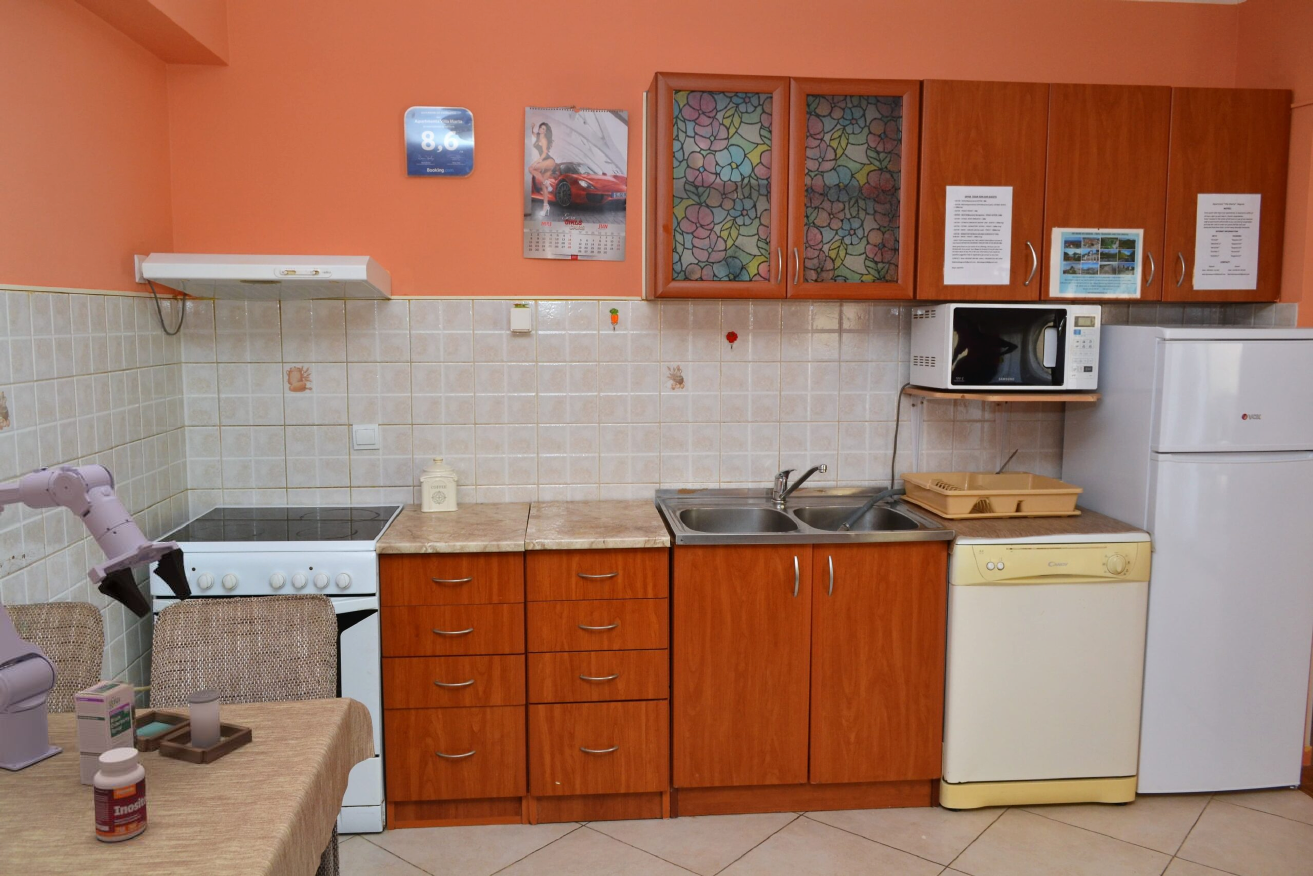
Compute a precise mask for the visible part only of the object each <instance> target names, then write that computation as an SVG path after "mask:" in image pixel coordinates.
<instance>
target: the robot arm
mask: <svg viewBox="0 0 1313 876" xmlns="http://www.w3.org/2000/svg"><path fill="white" fill-rule="evenodd" d="M59 467H60V468H57V469H50V470H49V467H47V466H44V467H37V468H33V472H29V473H27V474H26V475H25V476H23V477H22V478H21V480H20V481H19V482H11V483H10V482H8V483H7V482H6V483H0V515H1V513H2V512H4V511H5V505H6V506H7V505H12V504H18V503H19V504H20V503H23V504H24V505H25V506H27V507H28V508H30V509H35V510H39V509H48V508H56V507H64V508H67V509H69V510H70V511H71V512H72V513H73V515H74V516H77V517H79V518H80V519H81V522H83V524H84V525H85V527H86V528H87V530H88V531H89V534H91V536H92V537H93V538H94V540H95V542H96V543H97V545H98V546H99V547H100V549H101V550H102V552H103V554H104V555H105V556H106V558H107V560H108V561H106V562H103V563H101V564H98V565H95V566H93V567H92V568H91V569H90V570H89V571H88V572H87V574H86V575H87V577H88V578H89V579H90V582H92V584H93V585H97V584H99V583H100V584H99V585H98V586H97V590H98V591H99V592H100V594H102V595H105V596H108V597H110V598H111V599H114V600H115V601H117V602H119V603H120V604H122V605H123V606H124V607H126V608H127V609H129V611H131V612H132V614H135V615H136V616H137V617H138V618H139V619H143V618H144V617H145V616H146V615H148V614H149V612H151V606H150V604H149V603H148V601H147V599H146V598H145V596H144V595H143V594H142V592H141V590H140V588H139V586H138V585H137V583H136V580H135V577H134V575H133V570H136V569H138V568H142V567H144V566H147V565H150V564H153V563H156V562H157V563H156V565H157V566H156V568H155V569H153V570H152V573H154V574H155V575H156V576H157V577H158V578H160V579H161V580H162V581H163V582H164V583H165V584H166V585H167V586H168V587H169V588H170V590H171V591H172V592H173V594H174V595H175V596H176V598H177V599H178V600H180V601H181V602H185V601H186V600H187V599H188V598H189V597H190V596H191V595H192V594H193V593H192V589H191V587H190V584H189V582H188V579H187V574H186V570H185V560H184V559H185V558H184V554H185V552H184V551H183V550H182V548H181V547H180V546H179V544H178V543H177V541H176V540H171V541H167V542H157V543H153V541H151V540H150V541H148V540H147V537H146V536H145V535H144V533H143V531H141V529H140V527H138V524H136V522H135V520H134V519H133V517H132V516H131V515H130V513H129V512H128V510H127V509H126V507H125V506H124V504H122V502H121V500H120V498H118V496H117V494H116V493H115V491H114V489H115V479H114V476H113V475H114V474H113V473H112V472H111V470H110V469H109V468H108V466H107V467H106V466H105V465H103V464H101V463H100V464H98V463H97V464H96V463H90V464H87V465H82V466H81V465H79V466H75V467H74V466H73V465H72V464H67V465H61V466H59ZM57 682H58V670H57V667H56V665H55V663H54V662H53V661H52V659H50V658H49V657H48V656H47V655H46V654H45V652H44V651H43V650H42V648H41V646H40V645H39V644H37V643H34V642H30V641H26V640H24V639H22V638H21V637H20V635H19V634H18V632H17V629H16V626H14V624H13V622H12V619H11V617H10V616H9V614H8V612H7V610H6V608H5V606H4V604H3V603H2V601H1V599H0V768H3V769H7V770H12V771H18V770H20V769H23V768H25V767H27V766H28V767H29V766H31V765H33V764H36V763H37V762H39V761H43V760H44V759H47V758H49V757H52V756H53V755H56V754H59V753H60V752H63V747H61V746H60V747H59V746H55V745H51V744H50V737H49V736H50V735H49V722H48V705H47V704H48V703H47V699H48V698H50V697H51V691H52V690H53V689H54V688H55V687H56V685H57Z"/></svg>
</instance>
